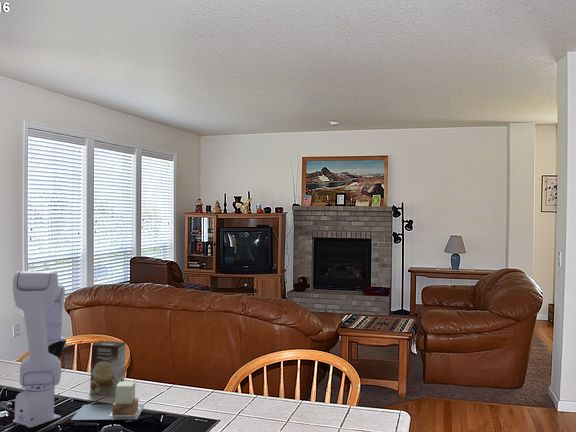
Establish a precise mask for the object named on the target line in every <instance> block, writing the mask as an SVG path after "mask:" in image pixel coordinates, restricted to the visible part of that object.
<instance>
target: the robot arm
mask: <svg viewBox="0 0 576 432" xmlns="http://www.w3.org/2000/svg"><path fill="white" fill-rule="evenodd" d="M58 277H59V276H58V273H57V272H56V270H51V271H50V270H48V271H47V270H46V271H42V270H41V271H37V270H36V271H31V270H29V271H27V270H26V271H22V270H17V271H16V272H15V274H14V276H13V280H12V293H13V300H14V303H15V307H17V308H18V309H21V310H22V313H23V314H22V315H23V318H24V322H25V330H26V339H27V346H28V352H29V353H28V355H27V356H26V357H24V358H23V359H22V361H21V363H20V367H19V385H20V387H22V388H23V389H24V390H23V391H21V392H19V393H17V395H16V397H15V398H14V399H15V400H14V419H13V420H12V422H13V423H15V424H18V423H19V424H18V425H21V424H22V426H23V425H25V426H24V427H26V426H27V428H33V427H36V426H39V425H42V424H45V423H48V422H50V421H51V422H52V421H53V420H56V419H60V418H61V415H59V414H56V413H55V387H56V386H58V385H59V384H60V382H61V376H62V364H61V363H60V361H61V357H62V353H63V351H64V347H65V345H66V343H67V340H66V337H65V336H63V335H64V334H63V331H62V326H63V325H62V324H63V308H64V303H65V302H64V300H65V293H66V289H65V286H64V285H62V284H60V283H58V282H59V281H58V279H59V278H58Z"/></svg>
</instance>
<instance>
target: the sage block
mask: <svg viewBox="0 0 576 432" xmlns="http://www.w3.org/2000/svg"><path fill="white" fill-rule="evenodd" d="M135 398H136V381H124V382H119V383H118V384H117V386H116V395H115V401H116V402H115V401H114V402H115V404H132V402H133V401H134V399H135Z"/></svg>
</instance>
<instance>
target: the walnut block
mask: <svg viewBox="0 0 576 432" xmlns="http://www.w3.org/2000/svg"><path fill="white" fill-rule="evenodd" d="M115 402H116V400H115V401H114V402H113V404H112V405H113V407H112V415H134V414H135V412H136V411H137V409H138V404H139V397H135V399H134V401H133V402H132V404H115Z"/></svg>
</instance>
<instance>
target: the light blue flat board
mask: <svg viewBox="0 0 576 432" xmlns="http://www.w3.org/2000/svg"><path fill="white" fill-rule="evenodd" d="M145 406H146V404H142V403H140V404H139V403H138V409H137V411H136V412H135V414H134V415H112V407H113V404H83V405H82V406H81V408H80V409H79V410H78V411H77V412H76V413H75V414H74V415H73V417H72V418H71V419H70V421H80V420H81V421H88V420H89V421H90V420H91V421H95V420H98V421H99V420H114V421H115V420H117V421H118V420H138V418H139V416H140V415H141V412H143V409H145Z"/></svg>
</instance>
